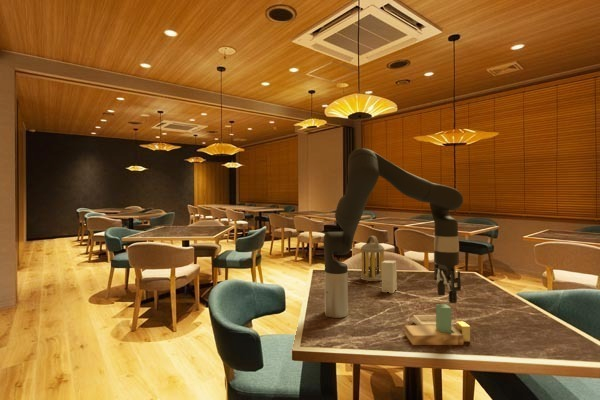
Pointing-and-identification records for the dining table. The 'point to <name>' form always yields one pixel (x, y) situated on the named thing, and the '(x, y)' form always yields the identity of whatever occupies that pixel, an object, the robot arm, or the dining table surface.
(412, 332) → the flat wooden block
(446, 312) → the peg
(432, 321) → the dish
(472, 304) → the dining table surface
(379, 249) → the lantern
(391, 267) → the skincare box
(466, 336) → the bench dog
